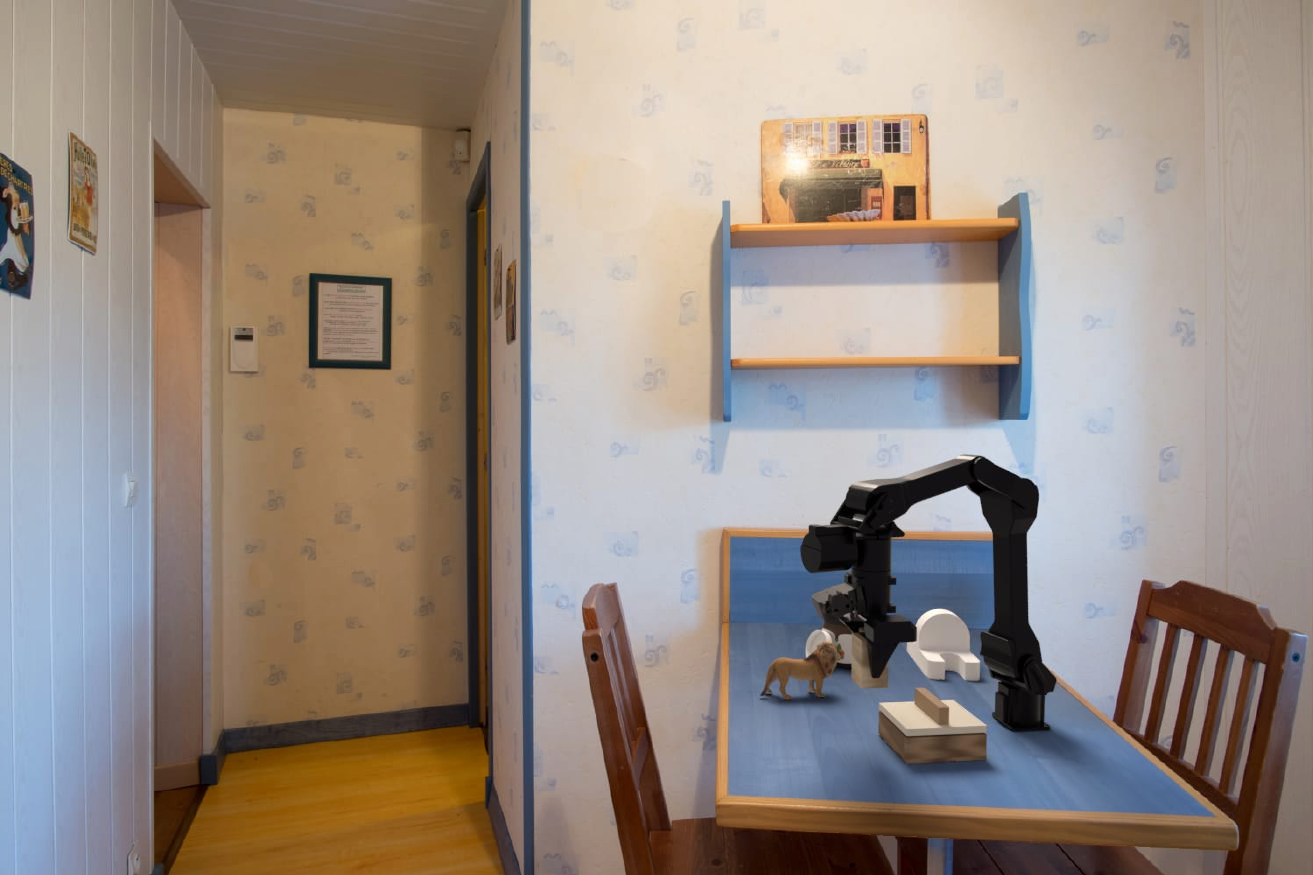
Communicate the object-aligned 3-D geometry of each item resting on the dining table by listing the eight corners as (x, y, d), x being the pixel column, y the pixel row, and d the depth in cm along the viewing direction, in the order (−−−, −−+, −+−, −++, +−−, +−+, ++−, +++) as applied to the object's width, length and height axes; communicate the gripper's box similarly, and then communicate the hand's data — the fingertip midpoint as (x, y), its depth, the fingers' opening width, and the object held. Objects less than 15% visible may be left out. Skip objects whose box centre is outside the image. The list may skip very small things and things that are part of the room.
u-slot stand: (952, 651, 165) (954, 600, 165) (981, 682, 147) (982, 624, 147) (905, 650, 166) (906, 599, 165) (928, 680, 148) (929, 622, 147)
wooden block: (877, 678, 120) (877, 625, 119) (887, 687, 116) (888, 633, 115) (851, 679, 119) (852, 626, 119) (861, 688, 115) (862, 634, 115)
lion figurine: (829, 685, 144) (830, 636, 144) (844, 696, 139) (844, 645, 139) (754, 693, 140) (754, 643, 140) (766, 704, 135) (767, 652, 134)
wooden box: (952, 731, 124) (952, 707, 124) (986, 759, 114) (986, 734, 114) (878, 734, 123) (878, 710, 123) (906, 763, 113) (906, 738, 113)
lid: (953, 706, 124) (953, 683, 124) (986, 732, 114) (987, 708, 114) (878, 709, 123) (879, 686, 122) (906, 736, 113) (907, 711, 113)
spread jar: (881, 664, 156) (882, 605, 156) (852, 678, 148) (853, 616, 147) (828, 651, 164) (828, 595, 164) (797, 663, 156) (798, 605, 156)
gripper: (798, 557, 125) (798, 655, 126) (840, 583, 107) (838, 698, 107) (866, 555, 126) (865, 652, 127) (919, 581, 108) (917, 695, 109)
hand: (869, 672), depth 118 cm, fingers closed on wooden block, 4 cm apart
